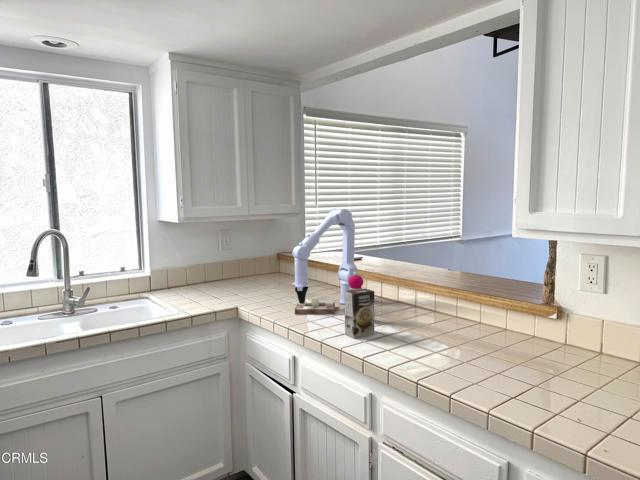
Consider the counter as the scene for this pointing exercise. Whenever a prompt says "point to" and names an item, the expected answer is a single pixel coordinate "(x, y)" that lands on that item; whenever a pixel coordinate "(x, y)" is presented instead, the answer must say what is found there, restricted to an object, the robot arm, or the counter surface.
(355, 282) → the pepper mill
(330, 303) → the button
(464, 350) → the counter surface
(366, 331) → the coffee box
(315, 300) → the middle button
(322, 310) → the button board
